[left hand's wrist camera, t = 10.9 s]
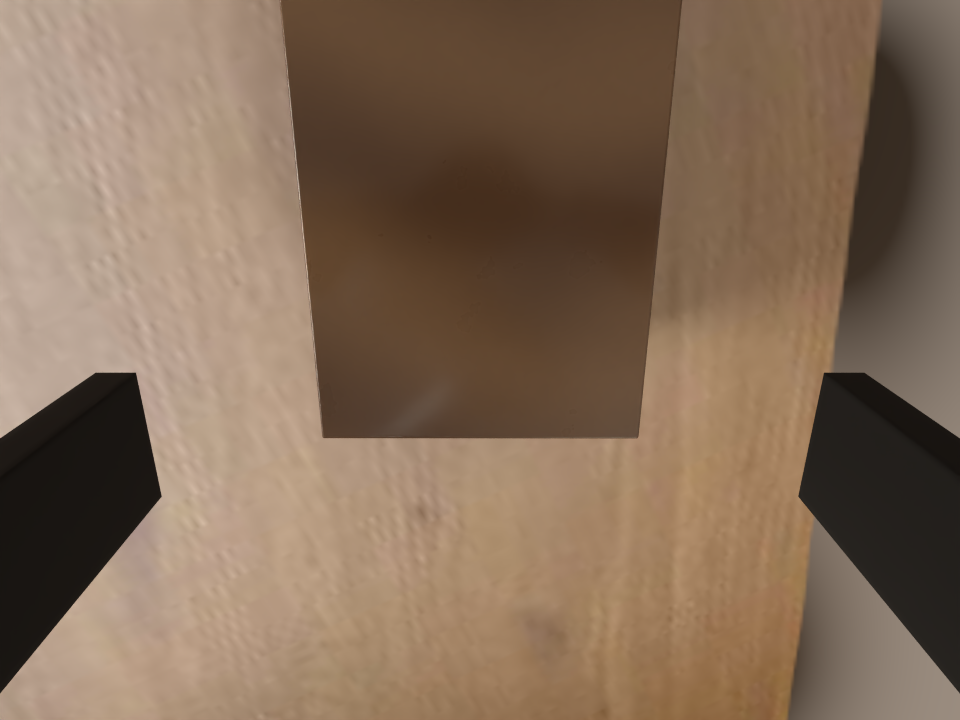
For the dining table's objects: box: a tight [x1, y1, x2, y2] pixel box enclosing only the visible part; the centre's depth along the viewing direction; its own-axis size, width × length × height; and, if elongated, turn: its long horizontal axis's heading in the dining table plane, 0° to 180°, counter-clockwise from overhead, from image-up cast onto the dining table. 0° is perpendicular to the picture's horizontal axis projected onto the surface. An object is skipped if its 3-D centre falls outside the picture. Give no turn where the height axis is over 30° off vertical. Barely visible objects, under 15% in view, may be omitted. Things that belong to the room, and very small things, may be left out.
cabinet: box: [280, 0, 682, 438], centre depth 23 cm, size 16×10×10 cm, turn 0°
